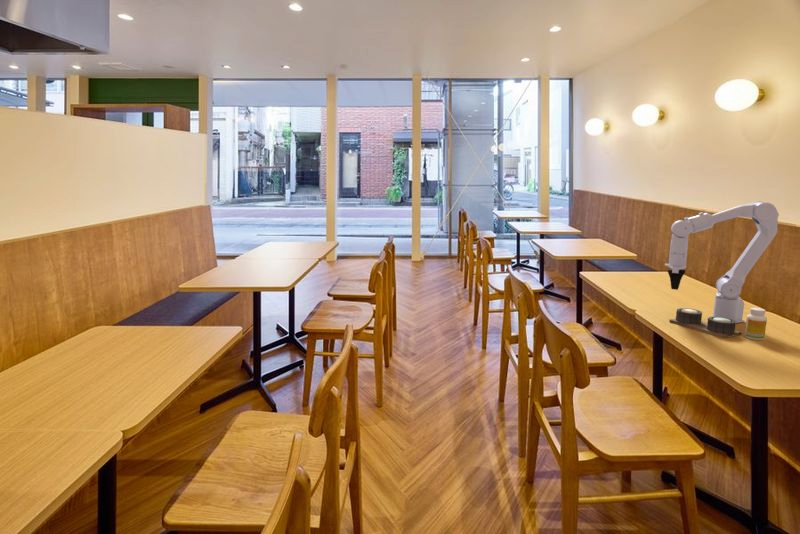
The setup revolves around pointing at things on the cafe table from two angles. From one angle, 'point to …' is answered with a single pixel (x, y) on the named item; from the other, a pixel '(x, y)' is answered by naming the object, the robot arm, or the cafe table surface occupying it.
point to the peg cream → (688, 311)
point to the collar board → (705, 323)
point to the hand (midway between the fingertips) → (674, 289)
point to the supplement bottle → (756, 324)
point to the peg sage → (722, 319)
